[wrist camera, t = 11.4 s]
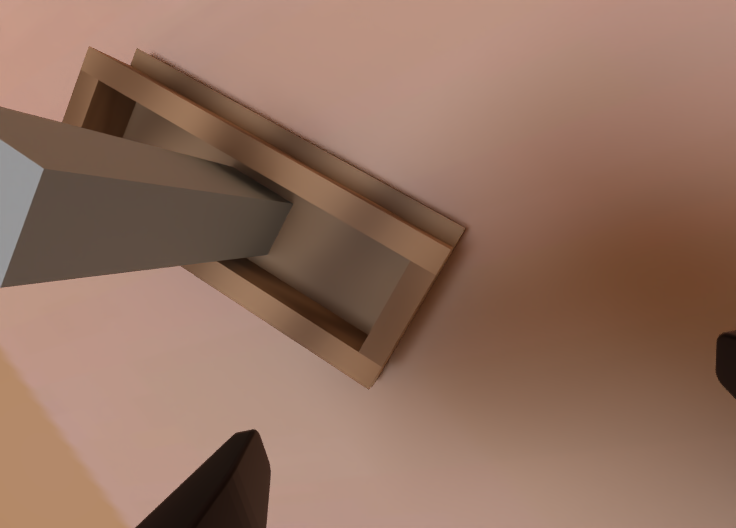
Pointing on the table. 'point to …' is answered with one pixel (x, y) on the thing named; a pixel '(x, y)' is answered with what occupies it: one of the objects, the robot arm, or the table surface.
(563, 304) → the table surface
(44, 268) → the tall grey pillar block
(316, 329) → the open rectangular wooden box
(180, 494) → the robot arm
